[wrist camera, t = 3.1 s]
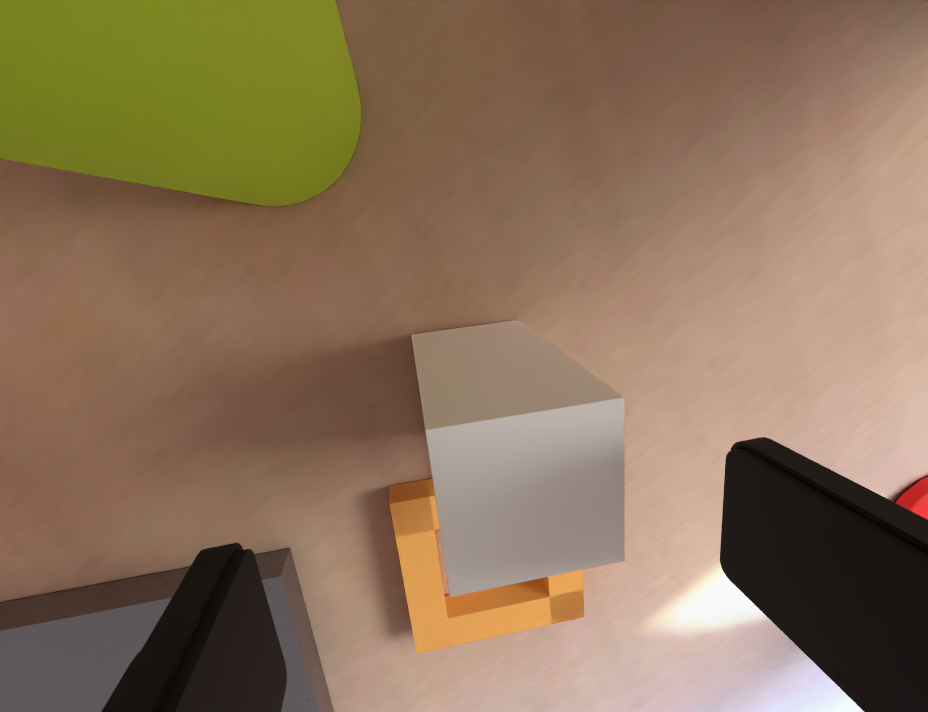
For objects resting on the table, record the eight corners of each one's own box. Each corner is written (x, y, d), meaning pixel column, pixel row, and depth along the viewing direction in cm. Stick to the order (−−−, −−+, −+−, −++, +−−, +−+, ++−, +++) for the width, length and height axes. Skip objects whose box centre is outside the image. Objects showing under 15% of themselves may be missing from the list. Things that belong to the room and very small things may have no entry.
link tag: (363, 341, 16) (334, 445, 8) (561, 313, 17) (702, 384, 9) (415, 629, 20) (428, 881, 12) (573, 595, 20) (679, 811, 13)
